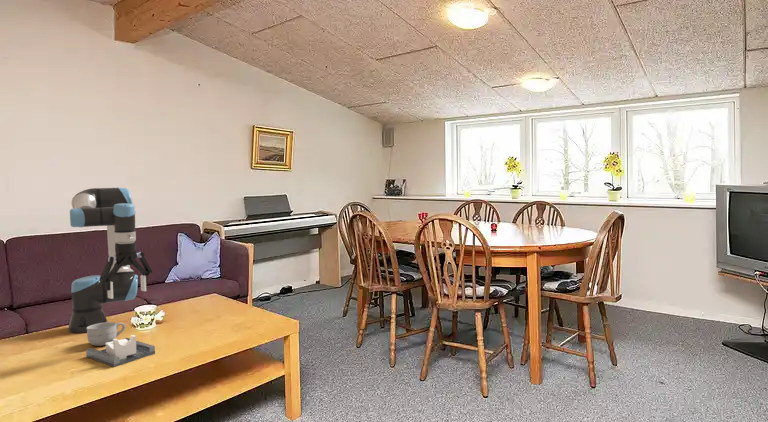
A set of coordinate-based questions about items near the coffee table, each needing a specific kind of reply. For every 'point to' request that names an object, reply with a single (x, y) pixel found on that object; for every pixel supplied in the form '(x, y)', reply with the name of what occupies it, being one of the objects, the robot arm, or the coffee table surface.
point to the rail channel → (114, 361)
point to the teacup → (103, 333)
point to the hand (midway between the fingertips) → (127, 294)
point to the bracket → (122, 347)
